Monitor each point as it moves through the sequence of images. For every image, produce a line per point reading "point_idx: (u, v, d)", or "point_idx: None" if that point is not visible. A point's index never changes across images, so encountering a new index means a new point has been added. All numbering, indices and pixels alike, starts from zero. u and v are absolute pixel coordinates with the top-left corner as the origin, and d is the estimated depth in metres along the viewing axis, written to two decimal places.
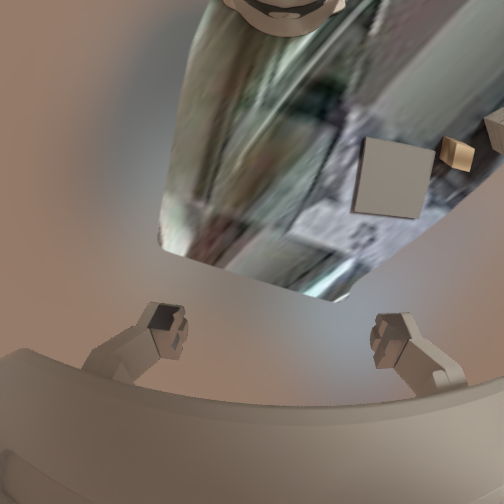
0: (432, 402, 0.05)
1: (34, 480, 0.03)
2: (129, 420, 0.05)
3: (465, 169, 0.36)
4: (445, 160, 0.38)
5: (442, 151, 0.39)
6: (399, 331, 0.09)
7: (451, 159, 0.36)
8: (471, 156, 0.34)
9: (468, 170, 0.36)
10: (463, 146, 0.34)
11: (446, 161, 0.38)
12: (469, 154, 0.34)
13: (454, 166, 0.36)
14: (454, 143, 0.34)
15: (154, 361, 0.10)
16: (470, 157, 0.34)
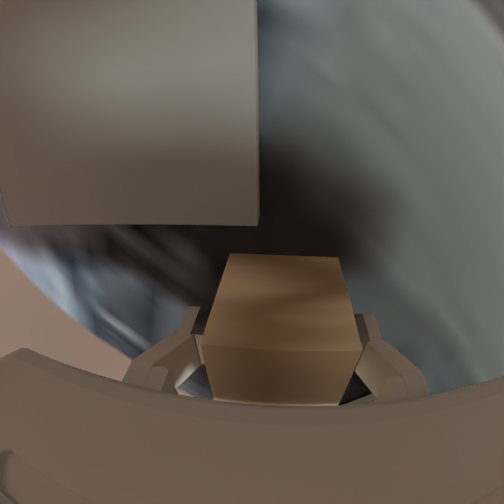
0: (432, 402, 0.05)
1: (34, 480, 0.03)
2: (129, 420, 0.05)
3: None
4: (228, 289, 0.10)
5: (267, 264, 0.11)
6: None
7: (245, 334, 0.08)
8: None
9: None
10: (342, 382, 0.08)
11: (225, 296, 0.09)
12: None
13: (212, 358, 0.08)
14: (348, 331, 0.08)
15: (195, 368, 0.10)
16: None
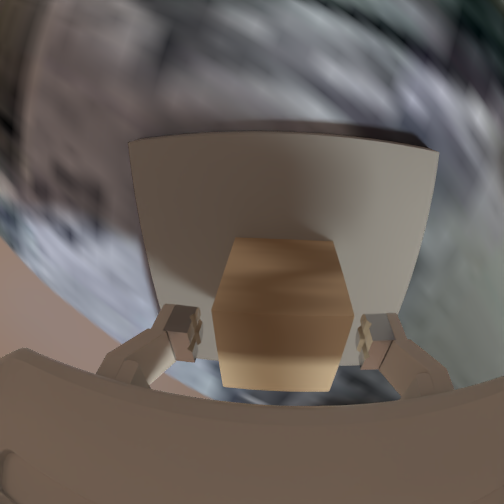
0: (432, 402, 0.05)
1: (34, 480, 0.03)
2: (129, 420, 0.05)
3: (227, 372, 0.10)
4: (235, 266, 0.11)
5: (269, 246, 0.12)
6: (383, 331, 0.09)
7: (251, 302, 0.09)
8: (294, 386, 0.10)
9: (228, 382, 0.11)
10: (337, 349, 0.09)
11: (232, 272, 0.10)
12: (302, 378, 0.10)
13: (221, 325, 0.09)
14: (342, 300, 0.09)
15: (169, 364, 0.10)
16: (287, 384, 0.10)
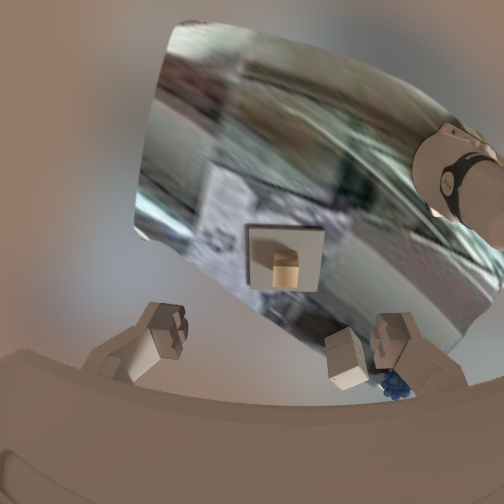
0: (432, 402, 0.05)
1: (34, 480, 0.03)
2: (129, 420, 0.05)
3: (274, 281, 0.51)
4: (275, 258, 0.51)
5: (282, 254, 0.53)
6: (399, 330, 0.09)
7: (280, 264, 0.49)
8: (288, 285, 0.51)
9: (274, 284, 0.51)
10: (296, 274, 0.49)
11: (275, 259, 0.51)
12: (290, 282, 0.50)
13: (274, 269, 0.49)
14: (297, 264, 0.49)
15: (154, 361, 0.10)
16: (287, 284, 0.51)
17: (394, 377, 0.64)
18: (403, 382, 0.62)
